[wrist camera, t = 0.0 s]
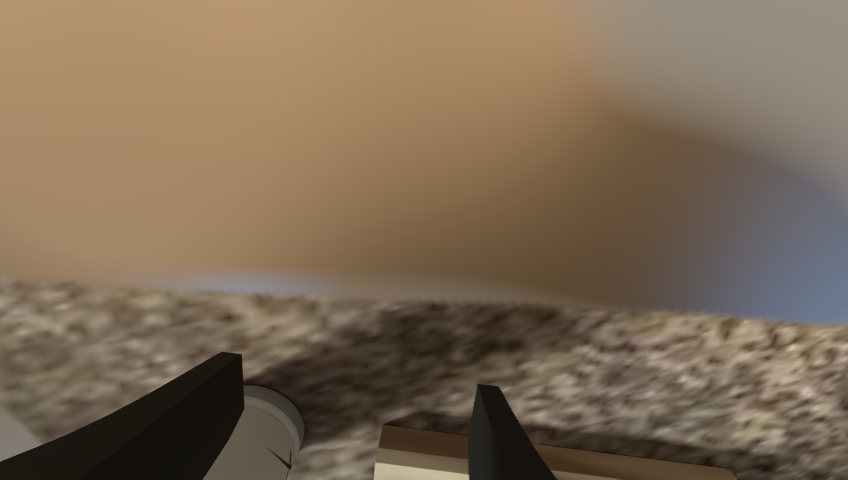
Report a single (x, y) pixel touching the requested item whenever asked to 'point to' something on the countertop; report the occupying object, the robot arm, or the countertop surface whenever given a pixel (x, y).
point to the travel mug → (261, 439)
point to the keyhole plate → (574, 469)
